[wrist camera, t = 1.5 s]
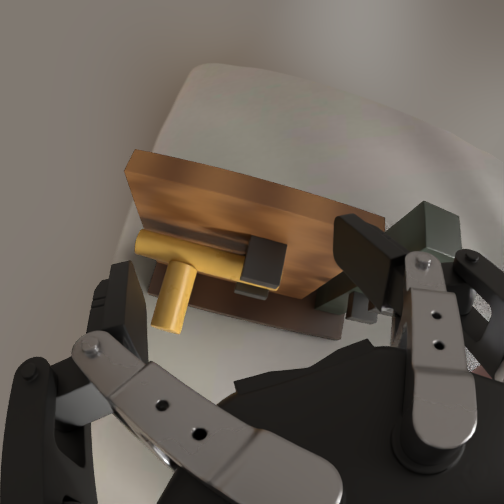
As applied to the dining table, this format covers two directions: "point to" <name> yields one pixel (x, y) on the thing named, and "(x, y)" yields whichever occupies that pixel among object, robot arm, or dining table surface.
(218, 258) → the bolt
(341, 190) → the dining table surface
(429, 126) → the dining table surface
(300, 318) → the door
